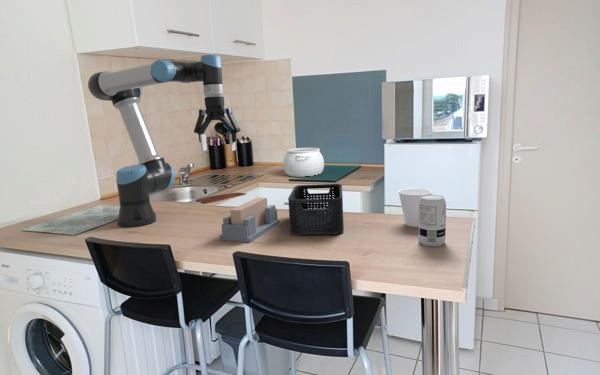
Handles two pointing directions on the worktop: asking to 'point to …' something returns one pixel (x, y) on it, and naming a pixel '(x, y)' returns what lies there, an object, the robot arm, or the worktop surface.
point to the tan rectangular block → (250, 211)
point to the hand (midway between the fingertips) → (218, 150)
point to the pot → (303, 162)
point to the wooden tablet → (219, 197)
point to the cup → (412, 204)
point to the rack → (249, 227)
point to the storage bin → (316, 210)
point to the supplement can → (432, 220)
